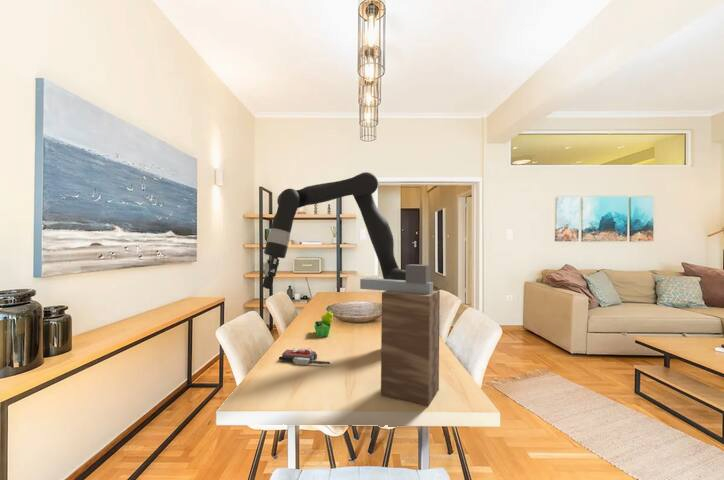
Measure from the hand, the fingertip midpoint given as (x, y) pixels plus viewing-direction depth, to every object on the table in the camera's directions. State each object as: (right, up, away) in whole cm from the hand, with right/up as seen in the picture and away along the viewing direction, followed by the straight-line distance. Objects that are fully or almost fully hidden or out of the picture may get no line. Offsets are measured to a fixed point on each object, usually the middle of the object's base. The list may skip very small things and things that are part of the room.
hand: (266, 288), depth 120 cm
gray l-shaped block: (+44, +2, -16) cm, 46 cm away
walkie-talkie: (+13, -29, +8) cm, 33 cm away
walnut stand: (+48, -29, -18) cm, 59 cm away
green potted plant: (+15, -29, +45) cm, 55 cm away
